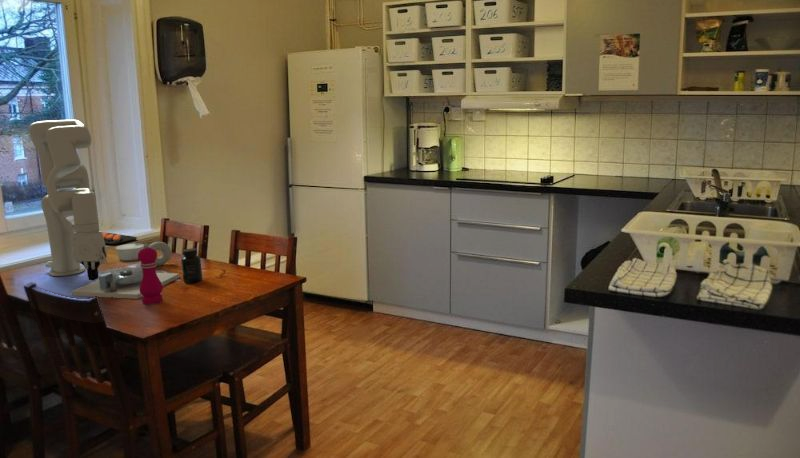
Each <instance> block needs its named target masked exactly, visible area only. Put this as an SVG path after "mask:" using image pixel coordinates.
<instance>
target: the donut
mask: <svg viewBox="0 0 800 458" xmlns="http://www.w3.org/2000/svg"><path fill="white" fill-rule="evenodd" d="M149 248H153V249H154V250H155V251H156V252H157V251H161V252H162V254H161V256H160V257H157V258H156V260H155V261H156V264H157V266H160V267H161V266H163V265H165V264H166V263H168V261H169V260H170V259H171V257H172V250H171V248H170V246H169V244H167V243H166V242H163V241H154V242H152V243H150V244H149ZM157 266H156V267H157Z"/></svg>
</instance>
